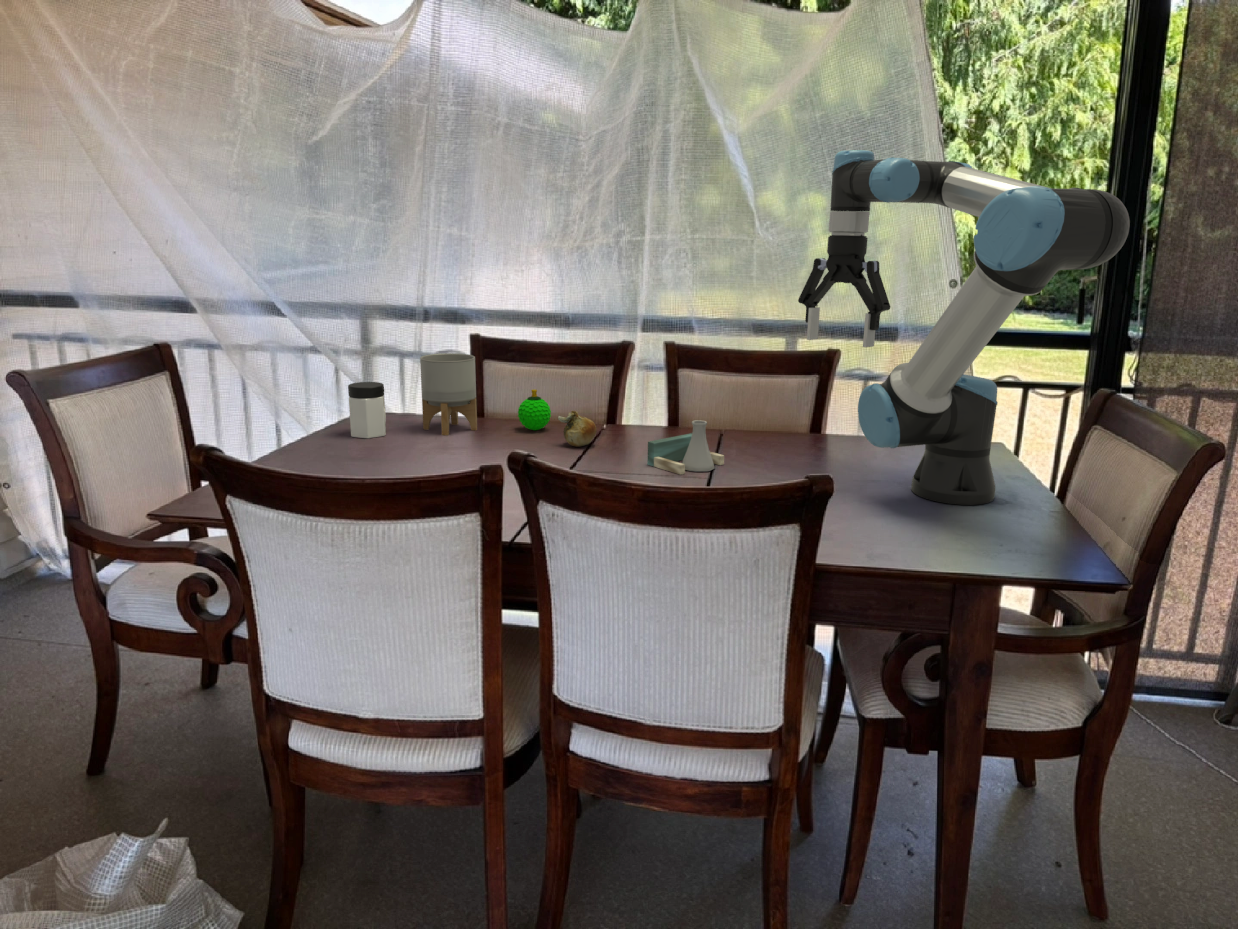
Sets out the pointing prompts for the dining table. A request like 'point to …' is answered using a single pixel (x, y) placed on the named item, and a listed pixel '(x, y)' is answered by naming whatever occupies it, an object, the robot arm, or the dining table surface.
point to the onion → (578, 429)
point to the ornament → (534, 412)
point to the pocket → (673, 453)
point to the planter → (448, 389)
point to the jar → (367, 409)
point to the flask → (698, 450)
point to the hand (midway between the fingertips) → (839, 343)
